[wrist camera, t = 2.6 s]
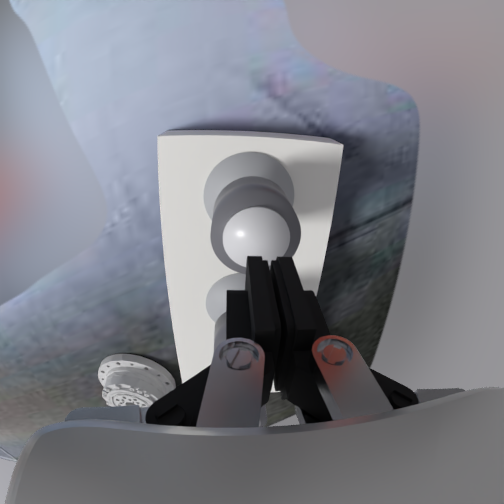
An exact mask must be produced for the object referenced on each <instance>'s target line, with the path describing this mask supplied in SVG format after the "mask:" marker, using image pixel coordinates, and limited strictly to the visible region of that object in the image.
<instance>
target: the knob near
mask: <svg viewBox="0 0 504 504" xmlns="http://www.w3.org/2000/svg"><path fill="white" fill-rule="evenodd" d="M210 238H211V245H212V248H213V251H214V253H215V254H216V256H217V257H218V259H219V260H220V261H221V262H222V263H223V264H224V265H225V266H227V267H228V268H230V269H231V270H234V271H236V272H238V273H242V274H246V262H247V256H262V259H263V260H268V265H269V270H270V266H271V261H272V260H276V258H277V256H278V257H293V256H294V254H295V253H296V251H297V249H298V246H299V244H300V239H301V226H300V222H299V219H298V217H297V215H296V213H295V211H294V209H293V207H292V205H291V203H290V201H289V199H288V198H287V196H286V194H285V192H284V191H283V190H282V188H281V187H280V186H278V185H277V184H276V183H275V182H273V181H271V180H269V179H266V178H263V177H258V176H248V177H242V178H239V179H237V180H234V181H232V182H231V183H229V184H228V185H227V186H225V187H224V188H223V189H222V191H221V192H220V193H219V195H218V197H217V199H216V201H215V204H214V210H213V217H212V224H211V234H210Z"/></svg>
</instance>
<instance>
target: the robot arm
mask: <svg viewBox="0 0 504 504" xmlns="http://www.w3.org/2000/svg"><path fill="white" fill-rule="evenodd" d="M273 381H274V388H275V391H280V392H281V399H282V400H283V399H287V400H288V401H290V402H291V403H293V404H295V412H296V415H297V418H298V420H299V423H300V425H289V426H273V427H259V422H260V411H261V407H262V406H263V405H265V404H266V403H267V402H268V400H269V395H270V391H271V390H272V384H273ZM5 504H504V388H499V387H488V388H487V387H486V388H478V389H472V390H467V391H465V390H463V389H459V388H454V389H453V388H452V389H417V390H416V391H415V392H413V391H412V390H411V389H409V388H407V387H406V386H404V385H402V384H400V383H398V382H396V381H394V380H392V379H390V378H388V377H386V376H384V375H382V374H380V373H378V372H376V371H374V370H372V369H370V368H369V367H368V366H367V365H366V363H365V361H364V360H363V358H362V357H361V355H360V353H359V352H358V350H357V349H356V347H355V346H354V345H353V344H352V343H351V342H350V341H349V340H347V339H345V338H343V337H340V336H335V335H330V333H329V330H328V328H327V325H326V322H325V320H324V317H323V314H322V312H321V309H320V306H319V304H318V301H317V299H316V296H315V293H314V292H313V291H312V290H303V287H302V284H301V281H300V278H299V275H298V272H297V269H296V267H295V264H294V261H293V258H292V257H278V256H277V258H276V260H272V261H271V266H270V270H269V265H268V260H263V259H262V256H247V262H246V280H245V290H227V297H226V340H225V341H223V342H221V343H220V344H219V345H218V346H217V347H216V349H215V351H214V354H213V358H212V362H211V365H209V366H208V367H206V368H205V369H203V370H202V371H201V372H199V373H198V374H196V375H195V376H193V377H192V378H190V379H189V380H187V381H186V382H184V383H183V384H181V385H180V386H178V387H177V388H175V389H174V390H172V391H171V392H169V393H168V394H166V395H164V396H163V397H161V398H160V399H158V400H157V401H155V402H154V403H153V404H152V405H151V406H150V407H143V408H140V407H139V405H129V406H113V407H86V408H78V409H75V410H73V411H71V412H70V413H69V414H68V415H67V417H66V418H65V421H64V422H59V423H54V424H51V425H48V426H45V427H42V428H41V429H39V430H37V431H36V432H35V433H34V434H33V435H32V436H31V437H30V438H29V439H28V441H27V442H26V444H25V446H24V447H23V449H22V452H21V454H20V456H19V458H18V460H17V463H16V466H15V469H14V471H13V474H12V478H11V481H10V485H9V488H8V492H7V496H6V500H5Z"/></svg>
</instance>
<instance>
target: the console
mask: <svg viewBox="0 0 504 504" xmlns="http://www.w3.org/2000/svg"><path fill="white" fill-rule="evenodd" d="M342 153H343V144H341V143H339V142H337V141H335V140H333V139H331V138H325V137H317V136H308V135H297V134H286V133H273V132H256V131H232V130H169V131H165V132H164V133H162V134H160V135H159V136H158V175H159V197H160V213H161V227H162V239H163V250H164V260H165V270H166V279H167V288H168V296H169V303H170V311H171V318H172V325H173V332H174V338H175V344H176V350H177V356H178V362H179V368H180V373H181V378H182V384H183V383H184V382H186V381H187V380H189V379H190V378H192V377H193V376H195V375H196V374H198V373H199V372H201V371H202V370H203V369H205V368H206V367H208V366H209V365H211V362H212V358H213V354H214V331H215V323H216V321H217V319H218V318H219V317H220V316H221V315H222V314H223V313H224V312H226V297H227V290H245V280H246V274H242V273H238V272H236V271H234V270H231V269H230V268H228V267H227V266H225V265H224V264H223V263H222V262H221V261H220V260H219V259H218V257H217V256H216V254H215V253H214V251H213V248H212V245H211V238H210V234H211V224H212V217H213V210H214V204H215V201H216V199H217V197H218V195H219V193H220V192H221V191H222V189H223V188H224V187H225V186H227V185H228V184H229V183H231V182H232V181H234V180H237V179H239V178H242V177H248V176H258V177H263V178H266V179H269V180H271V181H273V182H275V183H276V184H277V185H278V186H280V187H281V188H282V190H283V191H284V192H285V194H286V196H287V198H288V199H289V201H290V203H291V205H292V207H293V209H294V211H295V213H296V215H297V217H298V219H299V222H300V226H301V239H300V244H299V246H298V249H297V251H296V253H295V254H294V256H293V257H292V258H293V261H294V264H295V267H296V269H297V272H298V275H299V278H300V281H301V284H302V287H303V290H312V291H313V292H314V293H315V296H317V291H318V287H319V282H320V278H321V273H322V268H323V263H324V259H325V254H326V249H327V243H328V238H329V233H330V228H331V222H332V216H333V211H334V205H335V199H336V193H337V187H338V180H339V174H340V167H341V160H342ZM270 392H280V391H275V388H274V381H273V384H272V390H271V391H270Z"/></svg>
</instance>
